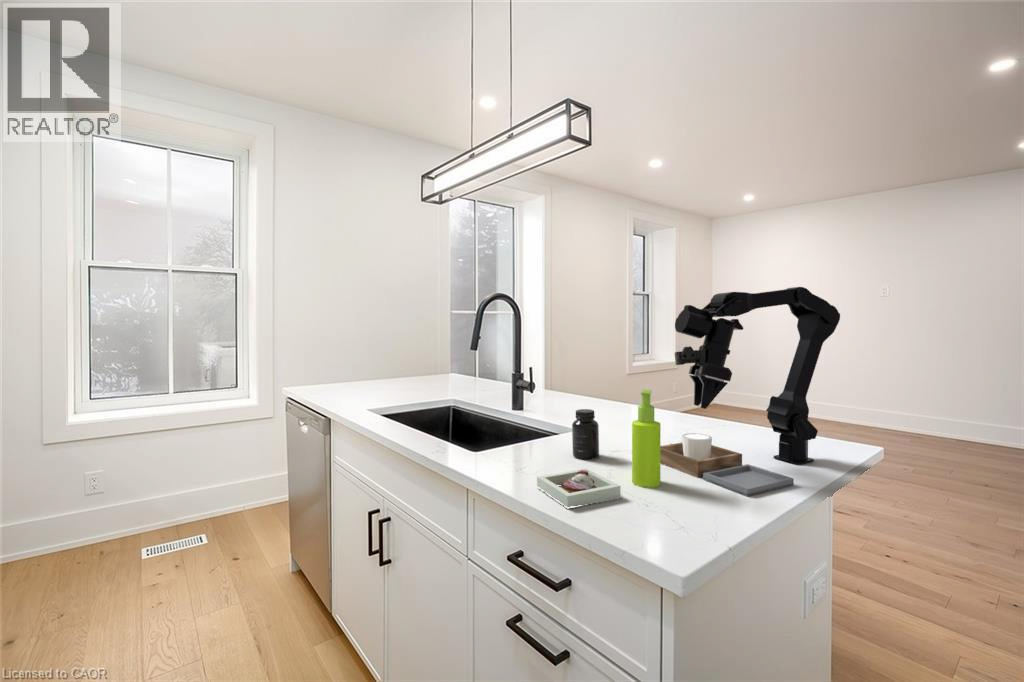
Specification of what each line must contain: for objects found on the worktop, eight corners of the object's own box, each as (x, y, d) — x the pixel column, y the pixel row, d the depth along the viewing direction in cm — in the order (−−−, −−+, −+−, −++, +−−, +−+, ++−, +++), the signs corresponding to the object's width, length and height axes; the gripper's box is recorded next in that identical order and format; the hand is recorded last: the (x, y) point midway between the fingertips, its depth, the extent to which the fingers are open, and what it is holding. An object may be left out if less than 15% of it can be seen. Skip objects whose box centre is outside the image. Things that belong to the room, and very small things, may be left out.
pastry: (603, 492, 96) (603, 468, 95) (593, 505, 89) (593, 479, 89) (566, 486, 99) (566, 463, 99) (554, 498, 92) (554, 473, 92)
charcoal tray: (747, 470, 107) (747, 464, 107) (793, 485, 97) (793, 478, 97) (703, 479, 102) (703, 472, 101) (747, 496, 92) (747, 489, 91)
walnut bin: (695, 453, 121) (695, 440, 121) (742, 468, 109) (742, 453, 109) (654, 460, 116) (654, 446, 115) (697, 477, 103) (698, 462, 103)
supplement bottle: (580, 451, 125) (579, 407, 124) (603, 455, 121) (603, 409, 120) (567, 457, 119) (567, 411, 119) (591, 461, 115) (591, 414, 115)
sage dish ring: (585, 479, 103) (585, 468, 102) (620, 498, 91) (620, 485, 91) (537, 488, 97) (536, 476, 97) (567, 509, 86) (567, 496, 86)
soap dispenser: (660, 478, 103) (660, 388, 102) (660, 488, 96) (660, 393, 96) (633, 475, 105) (633, 387, 104) (631, 485, 98) (630, 392, 97)
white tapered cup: (715, 469, 108) (715, 440, 108) (684, 468, 109) (684, 439, 109) (708, 461, 115) (708, 433, 115) (679, 459, 116) (679, 432, 116)
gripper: (676, 337, 121) (661, 395, 121) (687, 332, 103) (669, 399, 103) (721, 348, 119) (705, 407, 119) (740, 344, 100) (722, 414, 100)
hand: (699, 406), depth 110 cm, fingers open, 9 cm apart
